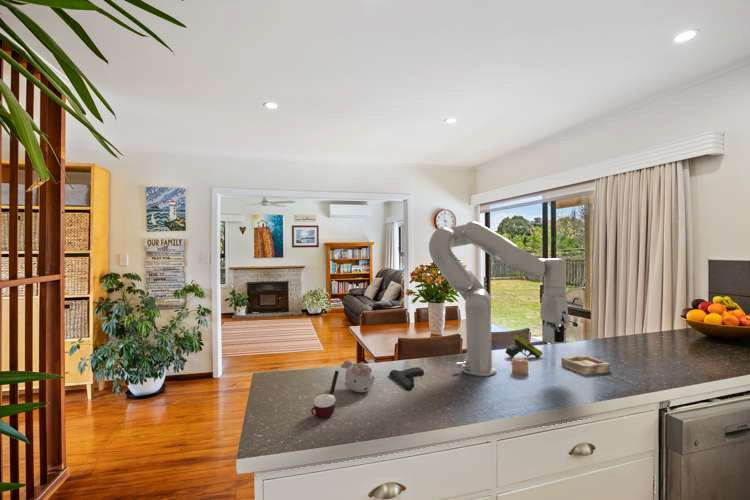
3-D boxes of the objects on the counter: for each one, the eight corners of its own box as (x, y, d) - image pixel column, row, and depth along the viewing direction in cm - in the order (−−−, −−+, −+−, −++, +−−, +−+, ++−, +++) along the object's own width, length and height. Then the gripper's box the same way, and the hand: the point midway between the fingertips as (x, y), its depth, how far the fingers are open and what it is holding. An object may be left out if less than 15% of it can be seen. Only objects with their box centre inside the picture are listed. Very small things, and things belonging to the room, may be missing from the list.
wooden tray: (583, 374, 147) (583, 366, 147) (561, 365, 158) (561, 357, 158) (610, 371, 149) (610, 363, 149) (586, 363, 161) (586, 355, 161)
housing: (551, 344, 142) (552, 325, 142) (542, 340, 147) (543, 322, 147) (566, 343, 143) (566, 324, 143) (556, 339, 148) (556, 322, 148)
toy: (352, 398, 127) (352, 368, 127) (335, 384, 141) (334, 357, 141) (379, 393, 132) (379, 363, 132) (360, 380, 146) (360, 353, 146)
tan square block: (517, 376, 147) (517, 362, 147) (508, 371, 153) (508, 358, 153) (531, 374, 148) (531, 361, 148) (522, 369, 154) (522, 357, 154)
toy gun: (530, 371, 170) (544, 353, 170) (504, 352, 170) (518, 334, 170) (528, 369, 172) (541, 351, 172) (502, 351, 173) (516, 333, 172)
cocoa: (312, 423, 111) (310, 382, 110) (308, 413, 117) (306, 374, 116) (344, 416, 114) (342, 376, 113) (339, 407, 120) (337, 369, 119)
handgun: (417, 366, 155) (387, 370, 150) (440, 380, 138) (406, 385, 134) (417, 372, 155) (387, 376, 151) (440, 386, 138) (407, 392, 134)
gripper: (531, 289, 152) (531, 335, 153) (561, 294, 136) (561, 346, 136) (548, 288, 154) (547, 334, 154) (580, 293, 138) (579, 345, 138)
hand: (554, 339), depth 145 cm, fingers closed on housing, 5 cm apart
